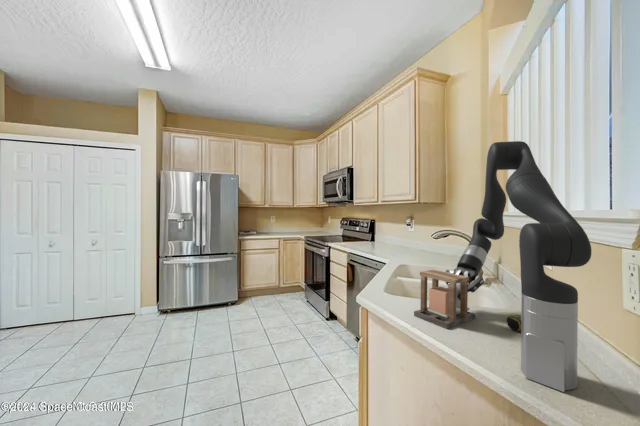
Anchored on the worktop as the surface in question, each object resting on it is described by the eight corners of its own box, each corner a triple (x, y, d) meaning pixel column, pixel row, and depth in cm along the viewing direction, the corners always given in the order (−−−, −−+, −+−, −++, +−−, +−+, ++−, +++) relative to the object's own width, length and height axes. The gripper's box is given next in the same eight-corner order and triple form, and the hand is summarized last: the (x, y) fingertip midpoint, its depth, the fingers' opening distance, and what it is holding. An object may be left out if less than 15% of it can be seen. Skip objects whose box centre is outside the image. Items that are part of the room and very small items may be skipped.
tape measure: (540, 334, 78) (540, 321, 78) (524, 336, 76) (524, 324, 76) (517, 324, 84) (517, 313, 84) (501, 327, 82) (501, 315, 82)
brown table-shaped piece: (448, 329, 79) (448, 281, 79) (412, 315, 90) (413, 272, 91) (476, 318, 88) (477, 275, 88) (441, 306, 99) (441, 268, 99)
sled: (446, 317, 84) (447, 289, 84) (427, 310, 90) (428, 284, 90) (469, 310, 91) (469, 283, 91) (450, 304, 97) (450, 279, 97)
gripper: (450, 251, 103) (431, 286, 97) (489, 256, 91) (469, 296, 85) (457, 263, 106) (439, 298, 99) (496, 269, 94) (478, 309, 87)
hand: (453, 297), depth 92 cm, fingers closed on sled, 3 cm apart
